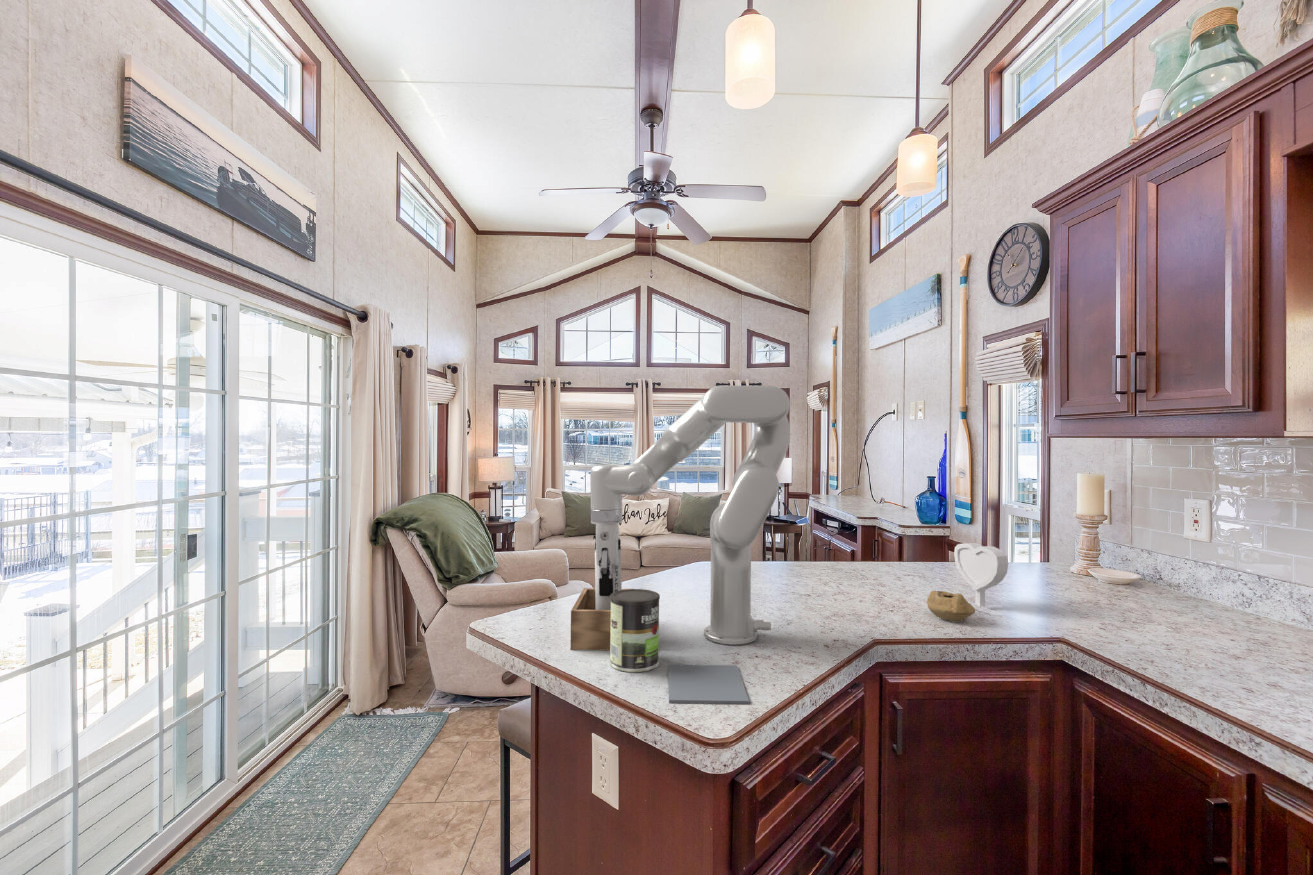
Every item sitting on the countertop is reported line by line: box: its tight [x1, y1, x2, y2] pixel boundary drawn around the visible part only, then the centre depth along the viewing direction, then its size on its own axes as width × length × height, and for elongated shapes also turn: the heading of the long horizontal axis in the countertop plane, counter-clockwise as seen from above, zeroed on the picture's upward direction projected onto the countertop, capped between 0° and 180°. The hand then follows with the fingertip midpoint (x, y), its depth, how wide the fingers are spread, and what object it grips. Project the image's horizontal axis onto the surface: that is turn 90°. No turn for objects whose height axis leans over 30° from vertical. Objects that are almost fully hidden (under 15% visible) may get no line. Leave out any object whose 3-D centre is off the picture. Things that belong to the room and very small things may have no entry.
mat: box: [667, 663, 750, 705], centre depth 105 cm, size 14×16×1 cm
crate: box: [569, 587, 627, 651], centre depth 132 cm, size 13×20×8 cm, turn 179°
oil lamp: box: [926, 590, 976, 622], centre depth 148 cm, size 11×15×8 cm
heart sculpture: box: [953, 542, 1009, 608], centre depth 157 cm, size 16×5×18 cm, turn 13°
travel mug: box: [592, 534, 623, 610], centre depth 132 cm, size 6×7×20 cm
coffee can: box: [609, 588, 661, 673], centre depth 115 cm, size 10×10×14 cm
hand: (607, 591), depth 132 cm, fingers closed on travel mug, 6 cm apart
